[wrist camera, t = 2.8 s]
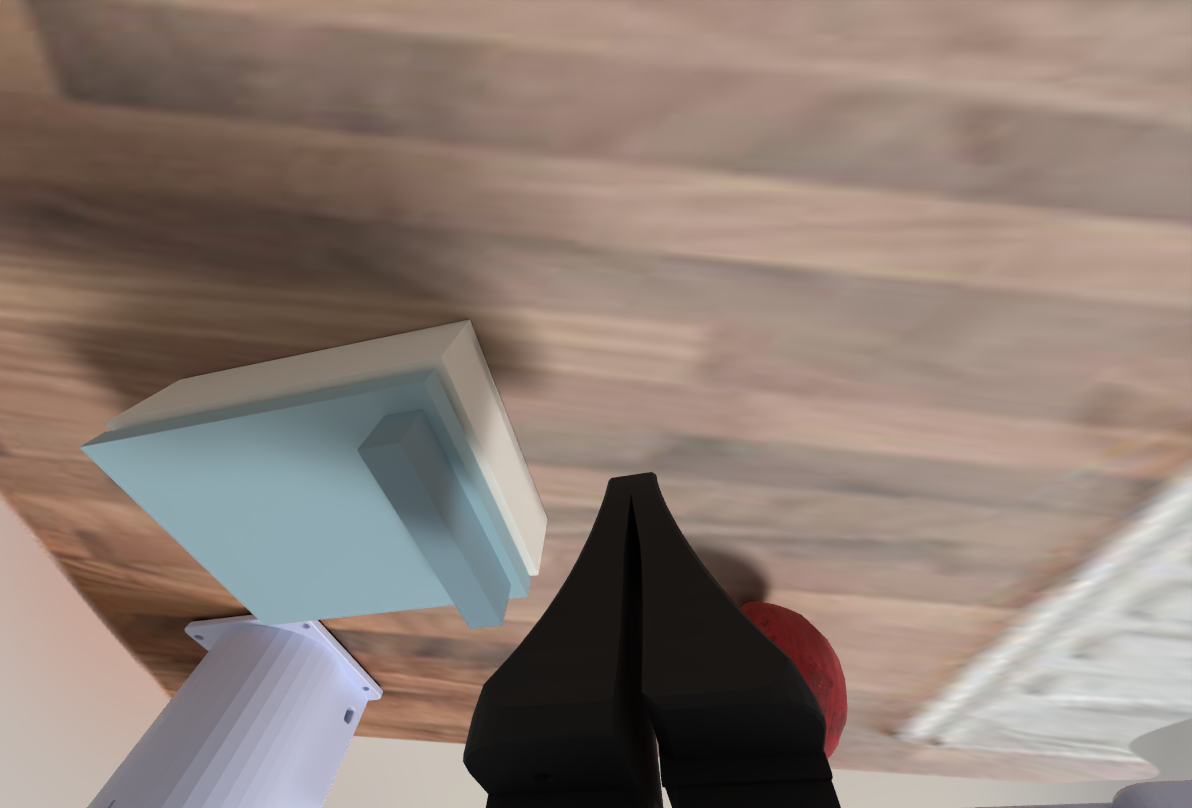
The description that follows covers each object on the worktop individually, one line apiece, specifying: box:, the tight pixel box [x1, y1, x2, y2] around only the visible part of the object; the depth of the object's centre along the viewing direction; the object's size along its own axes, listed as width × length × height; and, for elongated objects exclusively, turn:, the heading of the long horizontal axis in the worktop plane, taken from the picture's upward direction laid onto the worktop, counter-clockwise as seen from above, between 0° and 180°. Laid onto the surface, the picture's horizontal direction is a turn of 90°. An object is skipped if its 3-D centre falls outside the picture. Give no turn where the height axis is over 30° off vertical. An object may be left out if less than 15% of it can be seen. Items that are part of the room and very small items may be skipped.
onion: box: [740, 601, 847, 759], centre depth 20 cm, size 6×6×8 cm
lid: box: [79, 369, 531, 629], centre depth 15 cm, size 10×12×2 cm
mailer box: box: [104, 319, 548, 576], centre depth 17 cm, size 10×12×3 cm
